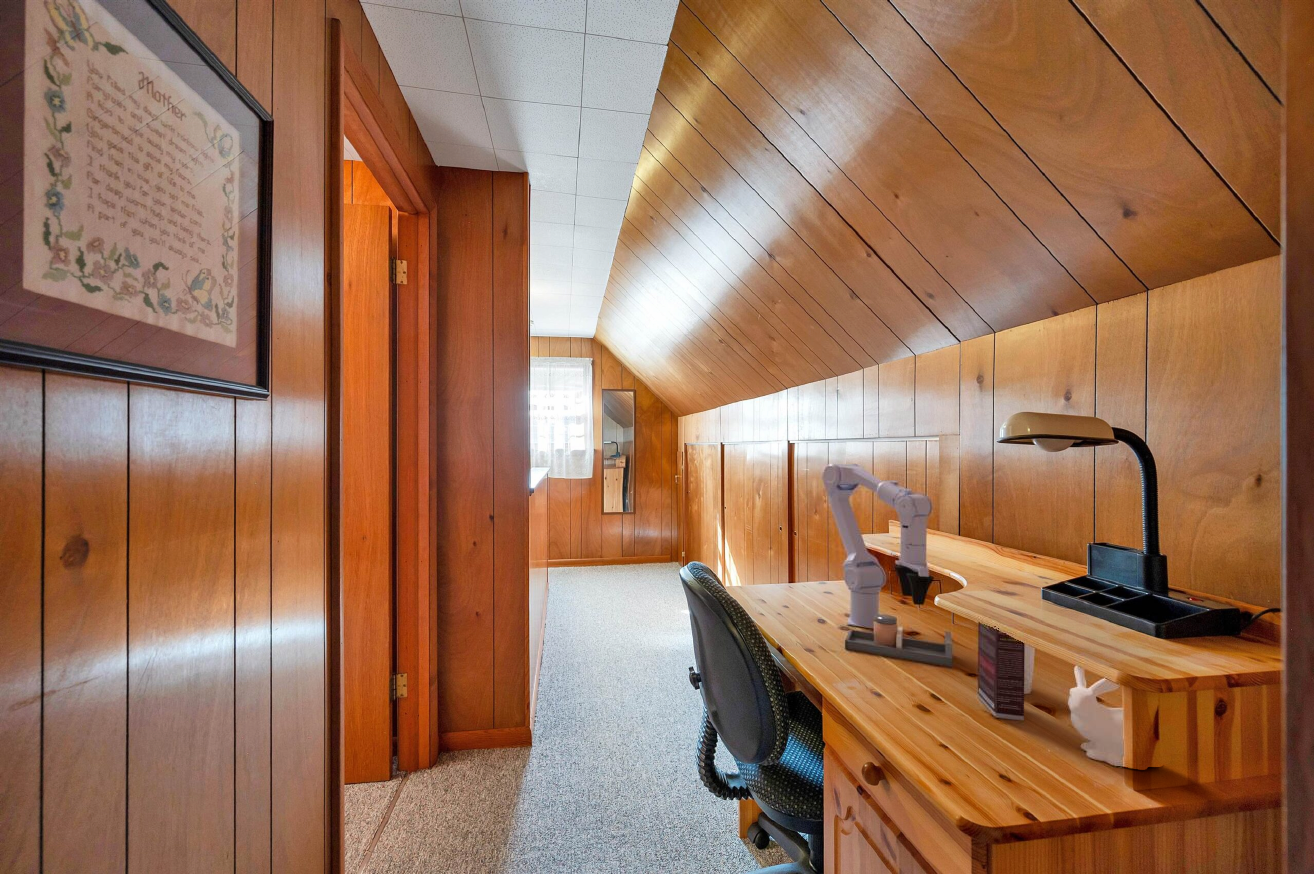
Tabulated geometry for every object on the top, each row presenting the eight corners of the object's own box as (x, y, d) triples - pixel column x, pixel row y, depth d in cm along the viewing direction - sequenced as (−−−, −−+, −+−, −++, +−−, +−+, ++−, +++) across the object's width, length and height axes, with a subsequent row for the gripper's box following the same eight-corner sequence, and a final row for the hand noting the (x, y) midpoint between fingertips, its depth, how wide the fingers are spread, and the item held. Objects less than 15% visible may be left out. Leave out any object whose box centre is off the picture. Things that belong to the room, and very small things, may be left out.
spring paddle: (897, 643, 129) (898, 626, 129) (902, 644, 129) (902, 627, 129) (896, 653, 123) (896, 635, 123) (901, 654, 122) (901, 636, 122)
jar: (874, 642, 130) (874, 612, 130) (897, 646, 128) (897, 616, 128) (872, 648, 126) (872, 618, 126) (896, 652, 124) (896, 621, 124)
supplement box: (1026, 721, 93) (1026, 628, 94) (995, 718, 94) (995, 626, 95) (1004, 699, 102) (1004, 614, 102) (976, 696, 103) (976, 612, 103)
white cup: (1020, 680, 111) (1020, 630, 111) (1044, 697, 103) (1044, 644, 103) (979, 677, 112) (980, 628, 112) (1000, 694, 104) (1000, 642, 104)
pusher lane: (850, 637, 135) (850, 616, 135) (950, 653, 125) (950, 631, 125) (845, 648, 126) (845, 627, 127) (952, 667, 117) (952, 644, 117)
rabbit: (1069, 757, 83) (1069, 677, 83) (1064, 731, 90) (1064, 658, 91) (1178, 784, 76) (1177, 698, 76) (1161, 754, 84) (1161, 675, 84)
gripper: (887, 538, 140) (886, 591, 139) (906, 548, 125) (905, 607, 125) (915, 539, 139) (915, 592, 139) (938, 549, 125) (938, 609, 124)
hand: (912, 599), depth 132 cm, fingers open, 7 cm apart
